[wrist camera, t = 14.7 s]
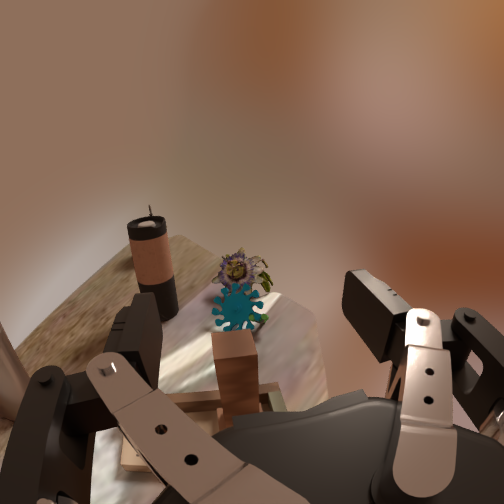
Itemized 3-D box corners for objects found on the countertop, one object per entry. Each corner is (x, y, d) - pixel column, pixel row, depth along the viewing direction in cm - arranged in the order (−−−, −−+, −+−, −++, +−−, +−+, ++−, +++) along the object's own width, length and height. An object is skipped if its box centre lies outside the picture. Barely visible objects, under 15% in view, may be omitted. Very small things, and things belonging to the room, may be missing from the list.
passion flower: (238, 317, 67) (202, 283, 62) (244, 287, 76) (213, 255, 71) (278, 298, 62) (242, 260, 58) (280, 268, 71) (250, 232, 67)
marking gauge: (223, 453, 28) (204, 374, 22) (217, 415, 34) (201, 329, 28) (270, 447, 29) (271, 365, 23) (260, 409, 34) (258, 323, 29)
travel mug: (147, 304, 63) (130, 218, 55) (180, 300, 64) (167, 213, 56) (143, 323, 56) (122, 230, 48) (180, 320, 57) (164, 225, 50)
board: (126, 470, 26) (112, 455, 24) (132, 413, 35) (122, 394, 33) (294, 458, 29) (297, 442, 27) (276, 401, 38) (277, 381, 36)
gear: (202, 321, 54) (224, 274, 57) (214, 326, 59) (234, 283, 62) (252, 345, 50) (275, 294, 52) (261, 348, 55) (282, 301, 57)
